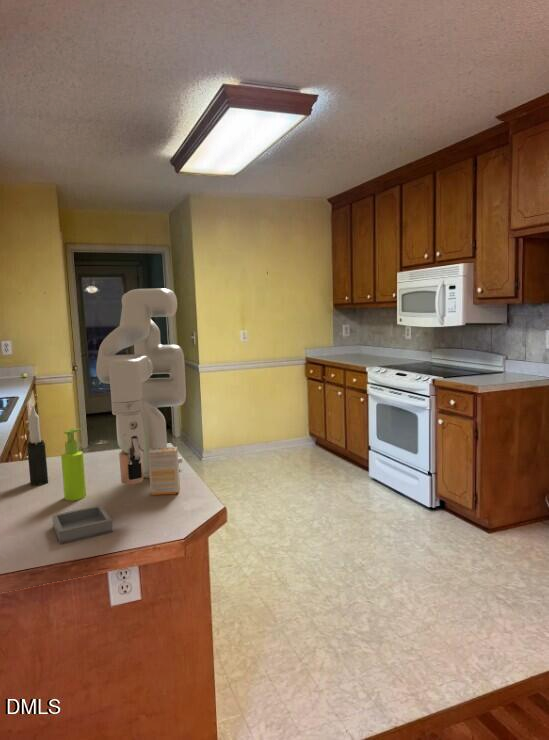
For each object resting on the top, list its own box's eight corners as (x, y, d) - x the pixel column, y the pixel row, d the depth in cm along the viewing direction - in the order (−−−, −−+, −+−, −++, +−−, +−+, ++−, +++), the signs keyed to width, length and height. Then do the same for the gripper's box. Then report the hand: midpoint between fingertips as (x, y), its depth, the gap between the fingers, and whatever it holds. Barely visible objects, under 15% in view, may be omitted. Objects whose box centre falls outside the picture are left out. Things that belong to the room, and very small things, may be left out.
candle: (31, 486, 164) (24, 408, 161) (30, 481, 168) (23, 405, 165) (48, 483, 166) (42, 406, 163) (47, 479, 170) (40, 403, 168)
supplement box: (180, 488, 156) (178, 446, 155) (178, 494, 152) (176, 450, 150) (152, 490, 156) (150, 447, 155) (150, 495, 151) (147, 452, 150)
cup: (140, 475, 139) (138, 446, 138) (146, 481, 134) (144, 451, 133) (118, 479, 136) (116, 449, 135) (124, 485, 131) (122, 455, 130)
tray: (101, 516, 137) (101, 505, 137) (112, 531, 127) (111, 520, 126) (53, 526, 131) (52, 515, 131) (59, 544, 121) (58, 531, 120)
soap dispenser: (93, 493, 155) (88, 427, 152) (75, 501, 148) (69, 433, 146) (78, 491, 157) (73, 426, 155) (60, 499, 151) (54, 431, 149)
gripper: (151, 410, 127) (156, 481, 129) (132, 399, 141) (137, 464, 144) (120, 414, 123) (126, 488, 125) (104, 403, 138) (109, 469, 140)
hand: (132, 474), depth 135 cm, fingers closed on cup, 5 cm apart
